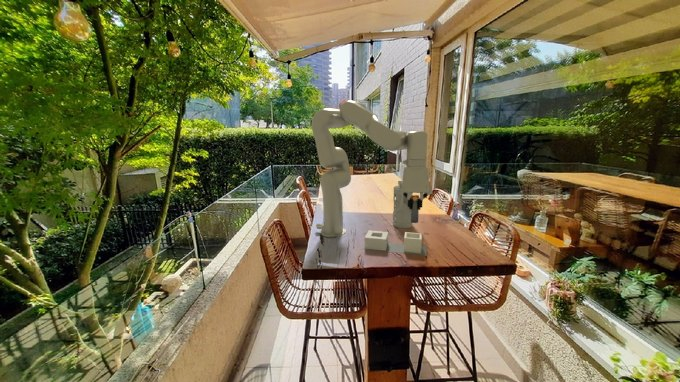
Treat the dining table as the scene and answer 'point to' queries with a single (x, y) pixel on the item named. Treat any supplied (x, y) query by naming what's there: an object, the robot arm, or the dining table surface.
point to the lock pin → (414, 208)
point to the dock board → (380, 243)
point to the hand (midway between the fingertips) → (414, 208)
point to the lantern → (401, 209)
